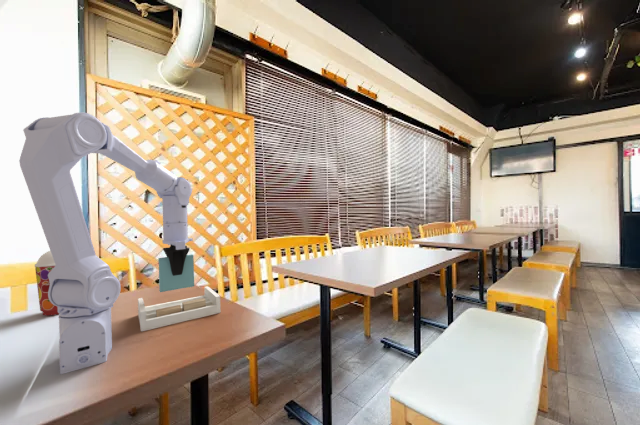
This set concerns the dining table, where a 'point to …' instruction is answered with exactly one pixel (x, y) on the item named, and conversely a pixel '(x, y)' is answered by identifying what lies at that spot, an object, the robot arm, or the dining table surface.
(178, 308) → the offcut
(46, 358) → the dining table surface
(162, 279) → the teal square slab
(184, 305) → the offcut
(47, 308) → the smoothie
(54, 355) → the dining table surface
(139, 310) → the rack
